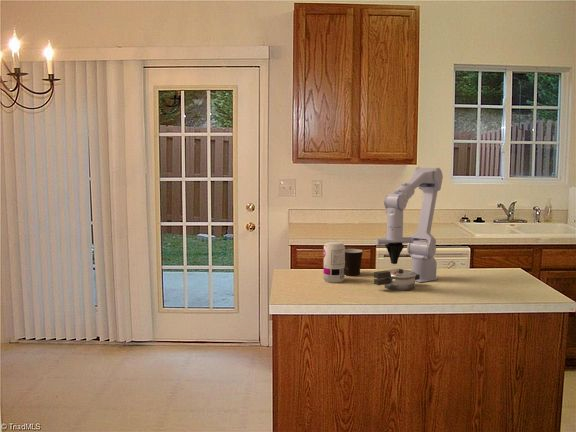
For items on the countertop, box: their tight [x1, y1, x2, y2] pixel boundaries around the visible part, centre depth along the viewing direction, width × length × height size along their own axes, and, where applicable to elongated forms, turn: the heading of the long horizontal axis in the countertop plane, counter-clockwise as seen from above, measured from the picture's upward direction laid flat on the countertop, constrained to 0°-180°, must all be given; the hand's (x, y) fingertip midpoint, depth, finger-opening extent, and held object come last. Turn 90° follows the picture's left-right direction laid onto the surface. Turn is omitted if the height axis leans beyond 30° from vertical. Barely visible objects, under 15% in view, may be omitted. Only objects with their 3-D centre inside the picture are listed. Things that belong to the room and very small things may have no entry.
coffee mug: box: [344, 248, 364, 277], centre depth 218 cm, size 12×9×10 cm
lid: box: [373, 268, 416, 279], centre depth 196 cm, size 17×12×2 cm
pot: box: [373, 274, 420, 292], centre depth 197 cm, size 19×11×4 cm, turn 119°
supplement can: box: [322, 240, 346, 284], centre depth 206 cm, size 8×8×15 cm
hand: (394, 263), depth 193 cm, fingers closed
